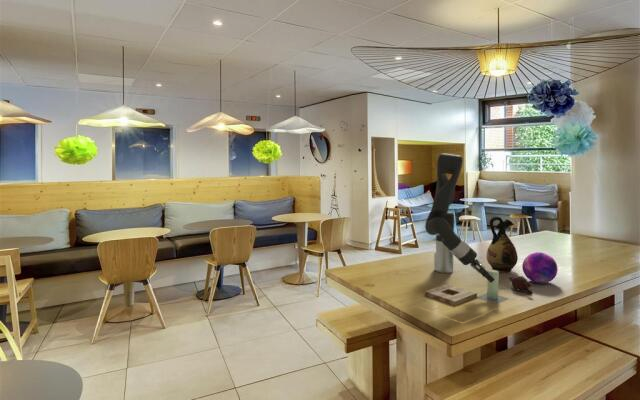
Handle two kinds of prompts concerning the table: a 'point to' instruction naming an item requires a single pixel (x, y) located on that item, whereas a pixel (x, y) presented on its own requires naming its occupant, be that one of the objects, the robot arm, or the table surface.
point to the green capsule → (493, 285)
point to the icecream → (521, 284)
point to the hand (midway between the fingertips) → (490, 278)
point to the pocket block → (450, 294)
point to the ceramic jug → (501, 248)
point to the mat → (499, 300)
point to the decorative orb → (539, 267)
